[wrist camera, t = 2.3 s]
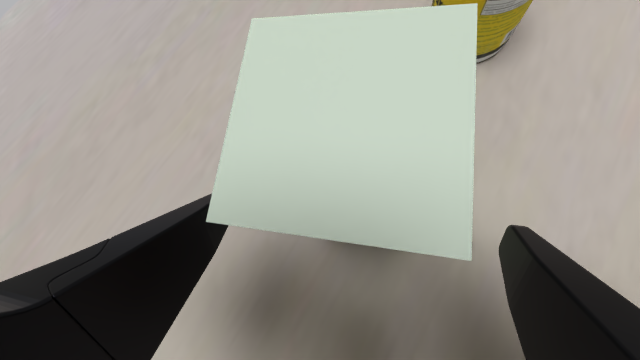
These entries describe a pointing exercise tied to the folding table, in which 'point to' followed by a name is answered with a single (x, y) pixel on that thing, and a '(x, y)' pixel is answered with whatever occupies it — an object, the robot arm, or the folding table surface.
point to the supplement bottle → (493, 22)
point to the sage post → (355, 129)
